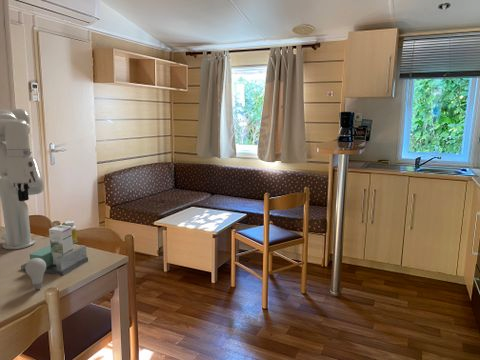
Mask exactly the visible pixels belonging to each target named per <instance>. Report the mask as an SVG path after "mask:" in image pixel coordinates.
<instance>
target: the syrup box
mask: <svg viewBox="0 0 480 360" xmlns="http://www.w3.org/2000/svg"><path fill="white" fill-rule="evenodd" d="M48 234H49V242H50V243H49V245H51V254H52V264H53V265H56V258H57V257H59V256H61V255H63V254H65V253H67V252H69V251H71V250H73V249H74V245H73V244H74V243H73V242H72V231H71V226H65V225H63V224H61V225H59V224H58V225H55V226H53V227H51V228H49V229H48Z"/></svg>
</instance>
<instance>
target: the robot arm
mask: <svg viewBox="0 0 480 360" xmlns="http://www.w3.org/2000/svg"><path fill="white" fill-rule="evenodd" d="M30 131H31V130H30V115H29V113H28V112H27V111H26V110H25V109H22V108H0V202H1V206H2V217H3V223H4V232H5V233H4V234H3V235H2V236H1V237H0V239H1V240H2V241H3V240H4V242H3V244H2V248H3V249H4V250H21V249H25V248H28V247H31V246H33V245H35V243H36V239H35V238H33V237H32V235H31V234H32V233H31V226H30V224H31V223H30V217H29V214H30V213H29V207H28V204H27V202H26V201H29V199H30V197H29V196H32V195H40V194H41V193H43V191H44V190H45V189H44V188H45V184H44V179H43V176H42V173H41V169H40V167H39V165H38V162H37V160H36V159H35V158H34V157H33V156H31V154H32V151H31V148H30V147H31V146H30V145H31V144H30V138H29V136H30V135H29V134H30Z"/></svg>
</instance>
